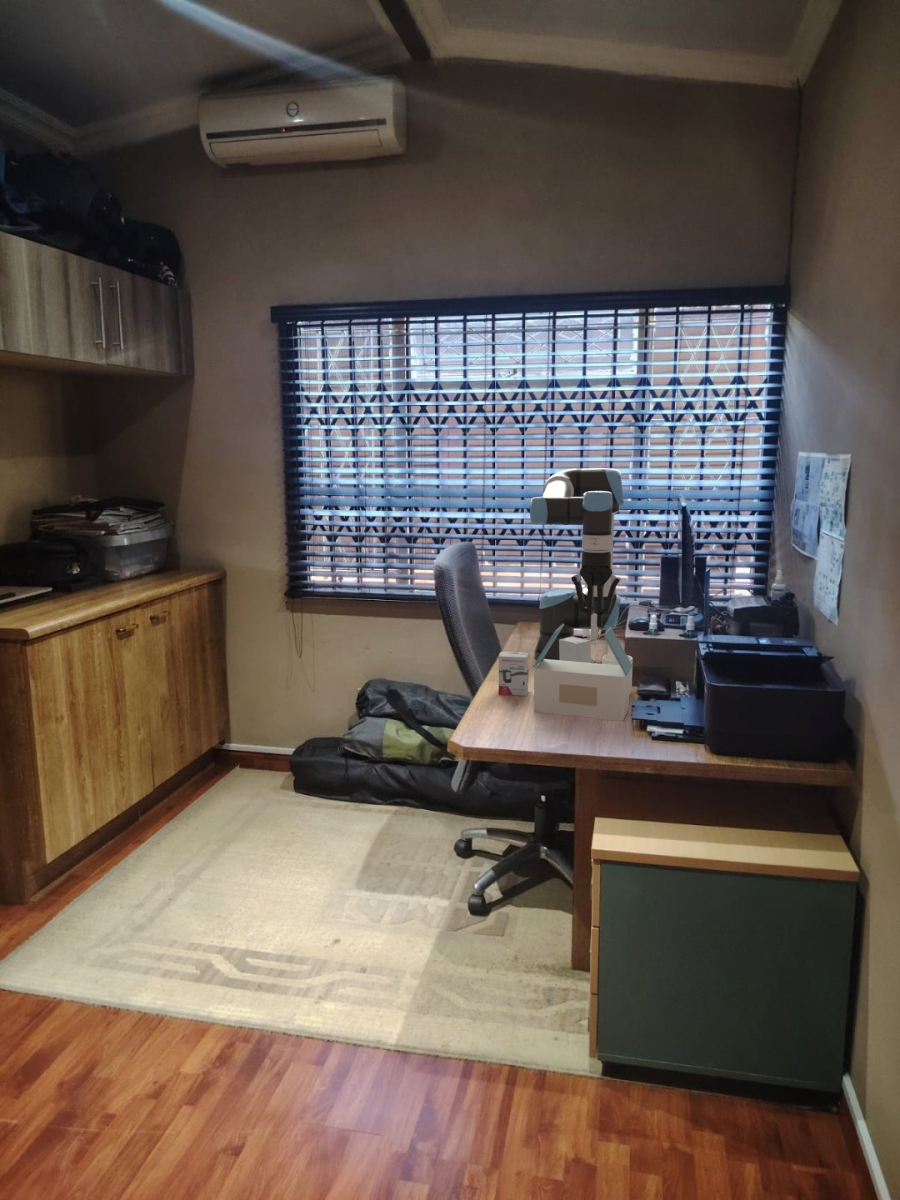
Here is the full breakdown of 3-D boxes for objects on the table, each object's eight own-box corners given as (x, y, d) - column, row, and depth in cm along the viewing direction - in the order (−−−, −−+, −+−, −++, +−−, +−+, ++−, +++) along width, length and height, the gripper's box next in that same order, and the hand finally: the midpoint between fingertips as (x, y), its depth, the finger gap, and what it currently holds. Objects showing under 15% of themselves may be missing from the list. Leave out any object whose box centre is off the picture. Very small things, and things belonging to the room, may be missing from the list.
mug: (603, 700, 220) (603, 664, 218) (600, 688, 232) (601, 653, 230) (633, 701, 219) (635, 664, 217) (630, 688, 230) (631, 654, 228)
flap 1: (534, 667, 210) (532, 666, 210) (542, 659, 218) (541, 658, 218) (556, 632, 205) (554, 631, 206) (564, 624, 214) (562, 623, 214)
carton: (543, 699, 221) (544, 659, 219) (628, 708, 213) (630, 666, 211) (533, 711, 211) (534, 669, 209) (622, 721, 203) (624, 677, 200)
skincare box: (591, 689, 231) (593, 640, 228) (576, 692, 227) (577, 643, 225) (572, 682, 237) (573, 635, 235) (557, 685, 234) (558, 638, 231)
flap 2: (630, 666, 210) (632, 665, 210) (625, 676, 201) (627, 675, 201) (609, 627, 210) (611, 626, 210) (603, 635, 201) (605, 634, 201)
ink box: (497, 694, 226) (497, 655, 224) (499, 689, 231) (500, 651, 229) (527, 696, 225) (527, 656, 222) (528, 691, 229) (529, 652, 227)
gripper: (568, 551, 202) (567, 639, 206) (619, 553, 197) (616, 643, 201) (574, 548, 208) (573, 633, 213) (623, 549, 204) (621, 636, 208)
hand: (594, 638), depth 207 cm, fingers closed
